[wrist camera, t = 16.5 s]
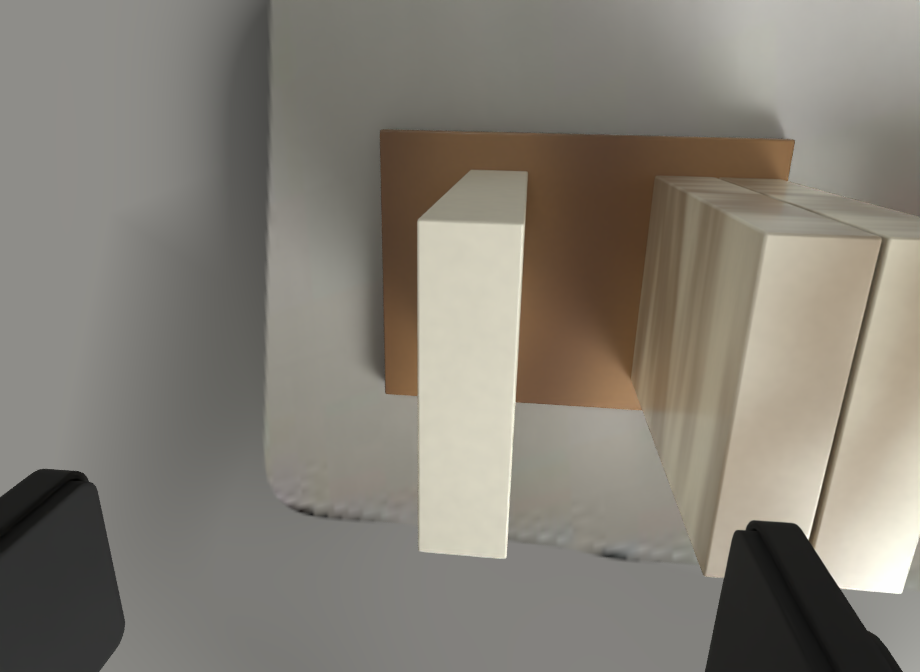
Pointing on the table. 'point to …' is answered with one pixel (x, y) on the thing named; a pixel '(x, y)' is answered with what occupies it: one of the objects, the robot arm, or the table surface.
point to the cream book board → (554, 243)
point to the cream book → (469, 361)
